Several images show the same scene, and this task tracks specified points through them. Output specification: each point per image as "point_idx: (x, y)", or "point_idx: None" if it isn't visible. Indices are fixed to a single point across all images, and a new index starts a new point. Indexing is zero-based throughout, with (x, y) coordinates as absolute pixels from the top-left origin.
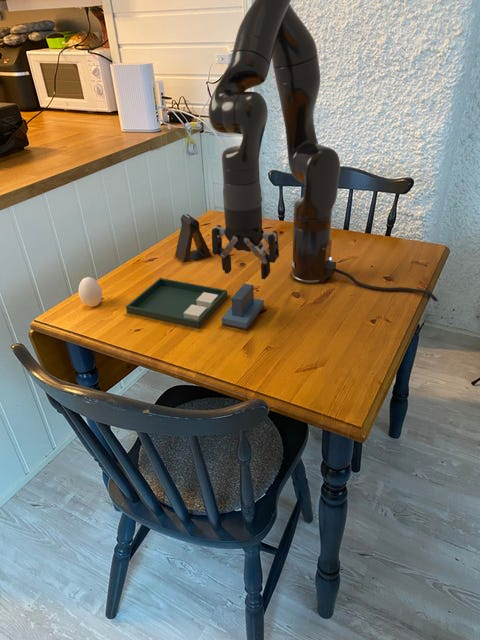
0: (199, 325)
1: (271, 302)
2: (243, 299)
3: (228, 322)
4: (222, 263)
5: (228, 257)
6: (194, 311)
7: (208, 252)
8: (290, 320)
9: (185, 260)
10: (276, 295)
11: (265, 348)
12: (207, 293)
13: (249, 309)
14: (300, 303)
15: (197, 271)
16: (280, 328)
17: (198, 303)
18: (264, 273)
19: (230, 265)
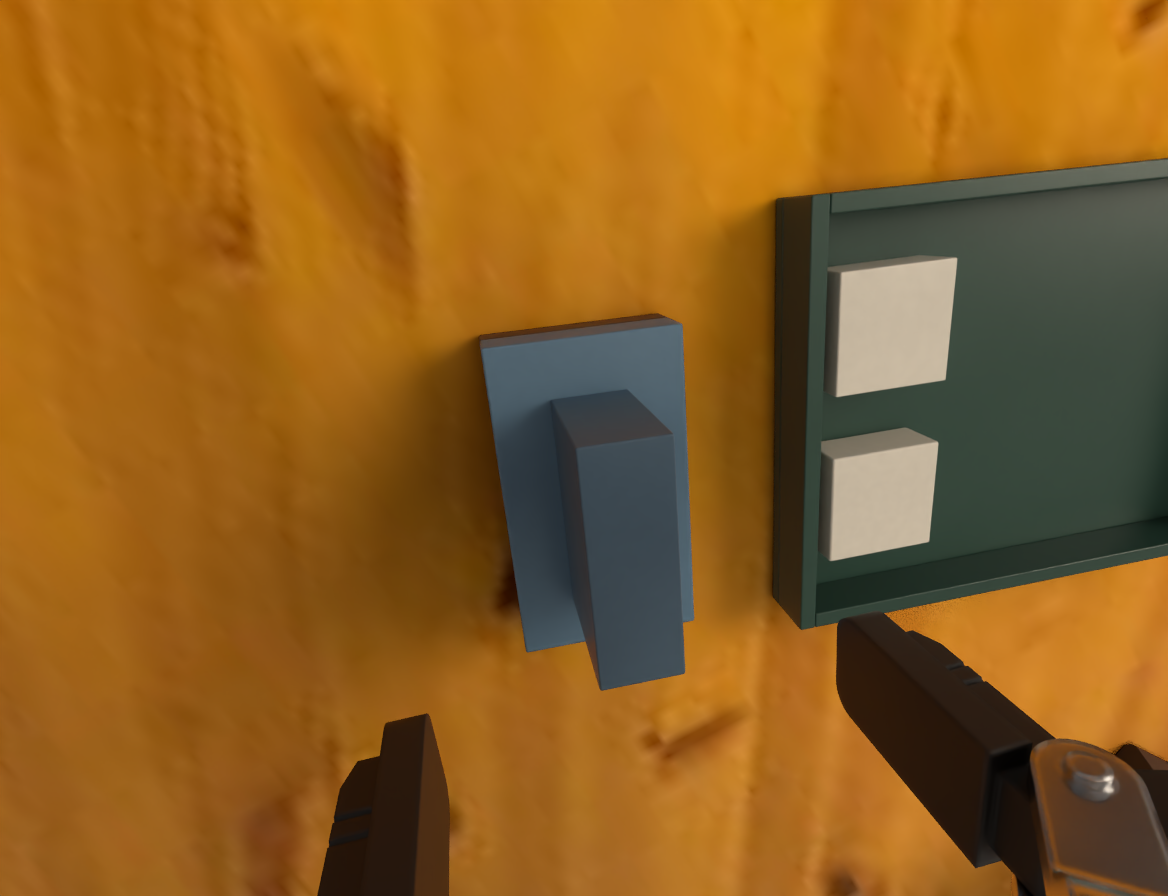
0: (793, 210)
1: (516, 688)
2: (575, 484)
3: (620, 325)
4: (987, 691)
5: (978, 807)
6: (894, 310)
7: None
8: (300, 590)
9: (1137, 766)
10: (528, 758)
11: (249, 223)
12: (901, 540)
13: (554, 511)
14: (354, 763)
15: None
16: (303, 484)
17: (908, 436)
18: (378, 788)
19: (878, 732)
